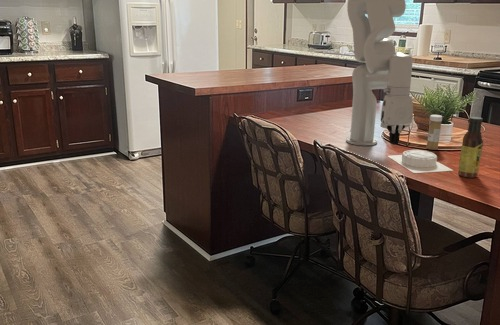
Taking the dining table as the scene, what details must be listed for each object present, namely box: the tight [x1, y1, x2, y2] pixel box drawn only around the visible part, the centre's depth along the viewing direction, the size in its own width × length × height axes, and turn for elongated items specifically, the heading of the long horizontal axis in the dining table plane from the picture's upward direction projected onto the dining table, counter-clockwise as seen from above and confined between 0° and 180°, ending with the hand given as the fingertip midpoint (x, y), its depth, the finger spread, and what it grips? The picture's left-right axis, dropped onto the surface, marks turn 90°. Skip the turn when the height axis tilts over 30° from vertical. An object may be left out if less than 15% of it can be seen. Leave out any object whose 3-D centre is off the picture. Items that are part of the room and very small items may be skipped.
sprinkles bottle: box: [425, 114, 443, 151], centre depth 193 cm, size 5×5×14 cm
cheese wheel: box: [401, 149, 438, 168], centre depth 177 cm, size 12×12×4 cm
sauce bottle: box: [458, 116, 484, 179], centre depth 162 cm, size 6×6×20 cm
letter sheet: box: [387, 154, 454, 174], centre depth 177 cm, size 20×15×1 cm
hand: (393, 143), depth 172 cm, fingers closed
